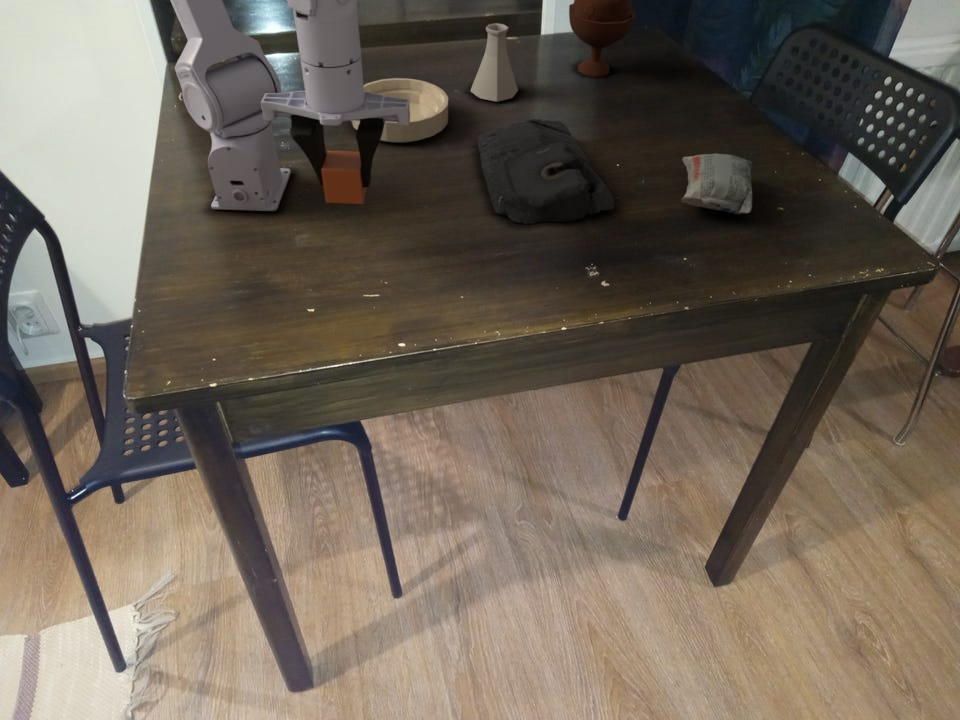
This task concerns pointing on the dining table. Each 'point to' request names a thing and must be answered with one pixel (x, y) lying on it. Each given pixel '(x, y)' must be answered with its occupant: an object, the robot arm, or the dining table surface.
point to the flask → (495, 68)
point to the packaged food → (719, 183)
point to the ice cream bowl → (600, 28)
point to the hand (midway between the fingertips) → (345, 181)
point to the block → (343, 177)
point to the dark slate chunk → (540, 174)
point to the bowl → (412, 108)
